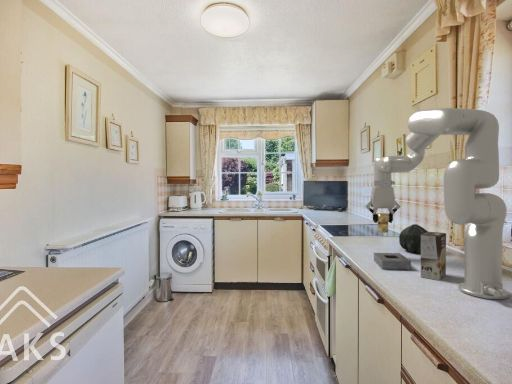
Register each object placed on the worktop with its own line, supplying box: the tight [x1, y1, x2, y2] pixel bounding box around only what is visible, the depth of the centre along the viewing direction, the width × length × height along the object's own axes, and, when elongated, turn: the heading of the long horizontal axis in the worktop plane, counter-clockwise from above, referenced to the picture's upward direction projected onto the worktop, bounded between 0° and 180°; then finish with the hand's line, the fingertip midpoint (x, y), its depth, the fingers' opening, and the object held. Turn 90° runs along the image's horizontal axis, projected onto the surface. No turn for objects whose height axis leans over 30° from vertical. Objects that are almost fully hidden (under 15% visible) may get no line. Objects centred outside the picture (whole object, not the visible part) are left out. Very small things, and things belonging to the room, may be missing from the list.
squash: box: [398, 223, 429, 254], centre depth 150 cm, size 14×15×15 cm
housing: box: [373, 252, 412, 271], centre depth 128 cm, size 14×11×4 cm
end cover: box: [376, 212, 390, 234], centre depth 140 cm, size 6×6×8 cm
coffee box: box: [420, 231, 447, 281], centre depth 112 cm, size 9×6×16 cm
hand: (382, 222), depth 140 cm, fingers closed on end cover, 6 cm apart
